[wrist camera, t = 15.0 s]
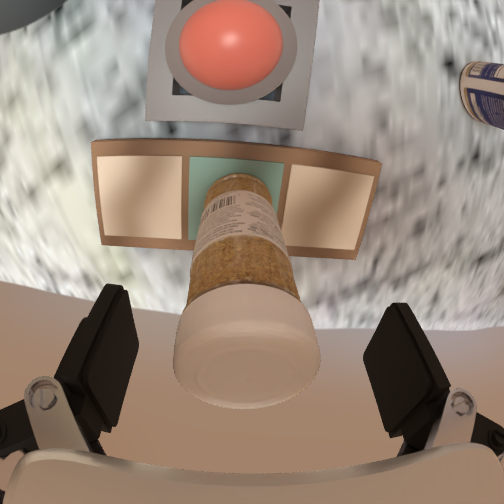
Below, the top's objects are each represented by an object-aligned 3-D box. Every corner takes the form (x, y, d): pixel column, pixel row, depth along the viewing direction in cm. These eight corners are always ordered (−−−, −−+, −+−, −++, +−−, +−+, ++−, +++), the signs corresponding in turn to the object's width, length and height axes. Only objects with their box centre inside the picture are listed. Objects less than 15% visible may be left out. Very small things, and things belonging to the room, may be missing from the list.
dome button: (293, 9, 13) (316, -18, 8) (281, 107, 17) (300, 115, 12) (181, 2, 13) (161, -28, 8) (171, 100, 16) (146, 106, 11)
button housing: (309, 1, 13) (320, -9, 11) (294, 124, 18) (302, 130, 16) (168, -8, 12) (159, -20, 10) (156, 116, 17) (145, 120, 15)
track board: (377, 160, 19) (383, 164, 19) (352, 254, 24) (356, 261, 23) (95, 140, 17) (89, 142, 17) (105, 240, 22) (100, 246, 21)
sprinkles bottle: (220, 241, 21) (212, 422, 10) (193, 185, 19) (139, 352, 7) (281, 220, 20) (333, 393, 9) (259, 160, 18) (304, 306, 7)
